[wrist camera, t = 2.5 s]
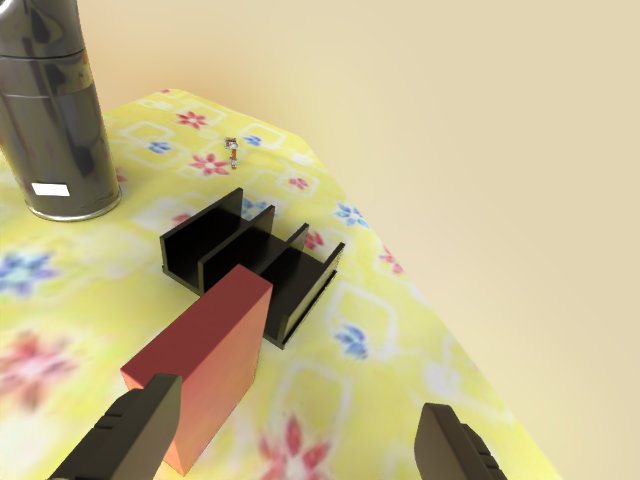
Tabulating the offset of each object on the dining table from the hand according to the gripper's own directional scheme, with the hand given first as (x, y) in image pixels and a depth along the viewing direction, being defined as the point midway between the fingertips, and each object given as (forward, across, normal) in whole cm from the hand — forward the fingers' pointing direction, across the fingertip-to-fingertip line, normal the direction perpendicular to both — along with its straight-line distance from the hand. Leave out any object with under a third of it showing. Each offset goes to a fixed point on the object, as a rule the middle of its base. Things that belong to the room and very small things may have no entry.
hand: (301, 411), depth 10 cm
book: (+13, +6, +12) cm, 19 cm away
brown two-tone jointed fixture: (+47, +14, -8) cm, 50 cm away
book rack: (+26, +6, +5) cm, 27 cm away
